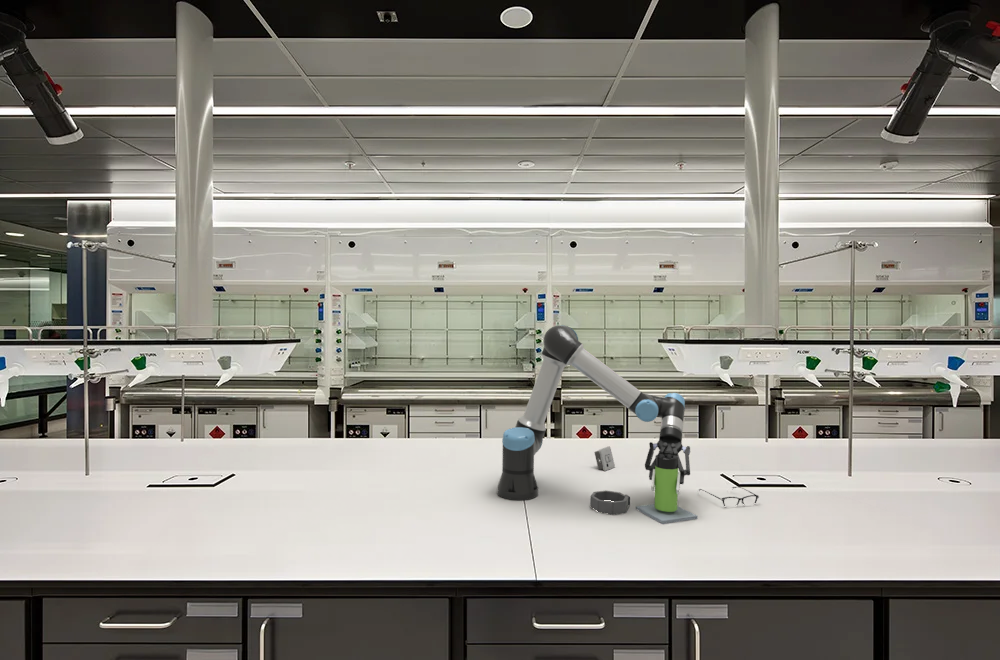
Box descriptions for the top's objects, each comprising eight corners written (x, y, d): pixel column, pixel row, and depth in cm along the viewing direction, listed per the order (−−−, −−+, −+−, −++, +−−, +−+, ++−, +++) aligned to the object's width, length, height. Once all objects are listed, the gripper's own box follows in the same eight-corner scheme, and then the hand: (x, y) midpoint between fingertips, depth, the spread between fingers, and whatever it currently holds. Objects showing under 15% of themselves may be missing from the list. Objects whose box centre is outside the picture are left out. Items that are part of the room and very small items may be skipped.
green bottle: (659, 502, 179) (660, 452, 179) (680, 508, 174) (681, 456, 174) (650, 508, 174) (651, 456, 173) (672, 513, 169) (673, 460, 169)
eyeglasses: (721, 509, 180) (721, 498, 180) (693, 495, 195) (693, 484, 195) (761, 506, 184) (761, 495, 184) (731, 492, 200) (731, 482, 200)
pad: (662, 524, 165) (662, 520, 165) (635, 509, 178) (635, 506, 178) (697, 518, 170) (697, 515, 170) (669, 504, 183) (669, 502, 183)
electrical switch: (605, 471, 224) (603, 450, 225) (594, 470, 227) (593, 449, 228) (615, 467, 231) (613, 446, 232) (604, 466, 235) (603, 445, 235)
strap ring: (603, 516, 171) (603, 503, 171) (585, 504, 182) (585, 492, 182) (638, 511, 176) (638, 499, 176) (618, 500, 187) (618, 489, 187)
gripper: (701, 441, 184) (698, 500, 169) (643, 435, 192) (634, 491, 177) (701, 428, 179) (697, 488, 164) (641, 423, 187) (632, 480, 172)
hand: (665, 490), depth 171 cm, fingers closed on green bottle, 7 cm apart
